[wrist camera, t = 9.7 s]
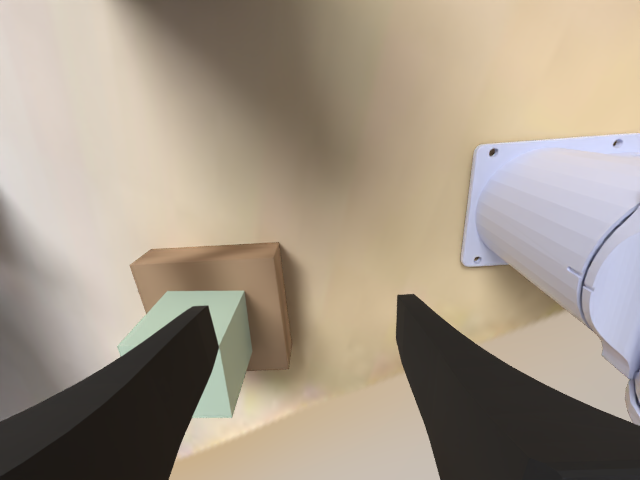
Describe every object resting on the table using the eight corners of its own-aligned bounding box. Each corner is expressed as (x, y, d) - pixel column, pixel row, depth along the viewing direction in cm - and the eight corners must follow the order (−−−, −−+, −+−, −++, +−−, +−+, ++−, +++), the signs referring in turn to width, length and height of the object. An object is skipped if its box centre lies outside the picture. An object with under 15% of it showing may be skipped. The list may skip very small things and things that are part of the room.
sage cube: (244, 290, 19) (218, 345, 14) (252, 351, 21) (232, 417, 16) (167, 291, 19) (117, 346, 14) (181, 351, 21) (142, 417, 16)
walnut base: (280, 239, 21) (273, 257, 18) (292, 340, 24) (288, 369, 21) (154, 246, 21) (129, 265, 18) (184, 345, 25) (167, 374, 22)
